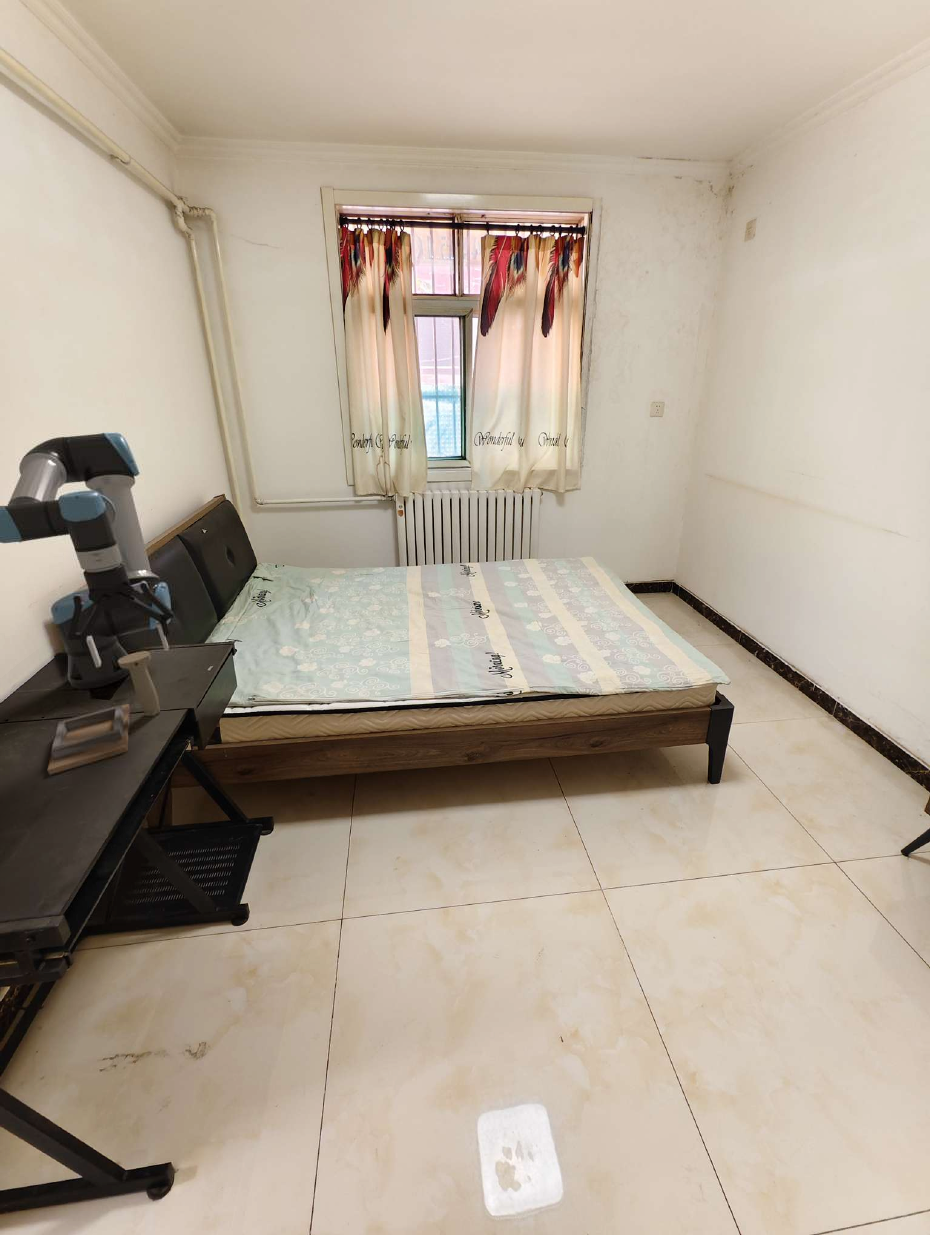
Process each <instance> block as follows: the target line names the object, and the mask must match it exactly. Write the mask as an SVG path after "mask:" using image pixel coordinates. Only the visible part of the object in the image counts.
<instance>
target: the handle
mask: <svg viewBox="0 0 930 1235" xmlns="http://www.w3.org/2000/svg"><path fill="white" fill-rule="evenodd" d="M151 659H152V656H151V653H150V652H149V650H147V651H146V650H142V651H137V652H133V653H130V654H128V655H127V656H124V657H122V658H120V659H119V660H118V663H119V666H120V667H121V668H124V669H129V671H130V676H131V680H132V684H133V687H134V688H133V689H134V691H135V694H136V698H137V701H138V703H139V705H140V707H141V709H142V711H143V712H144V714H145V716H146V717H154V716H156V715H157V714H159V713H160V712H161V709H160V703H159V697H158V693H157V690H156V688H155V687H156V686H154V683H153V680H152V678H151V676H150V672H149V671H148V668H147V664H148V663H149V662H150V661H151Z"/></svg>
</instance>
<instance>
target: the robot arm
mask: <svg viewBox="0 0 930 1235" xmlns="http://www.w3.org/2000/svg"><path fill="white" fill-rule="evenodd" d="M18 470H19V473H20V476H19V479H18V481H17V483H16V485H15V488H14V490H13V492H12V494H11V497H10V499H9V501H8V504H7V505H0V544H9V543H11V544H12V543H22V542H28V541H36V540H39V539H40V540H42V539H46V538H47V539H48V538H49V539H50V538H54V537H61V536H62V537H63V536H68V535H69V536H70V539H71V543H72V545H73V549H74V551H75V554H76V557H77V560H78V564H79V566H80V568H81V569H82V570H84V571H83V577H84V580H85V583H86V585H87V588H86V589H82V590H78V591H75V592H72V593H70V594H67V595H65V596H63V597H61V598H59V599H58V600H56V601H55V602H54V603H53V604H52V605H51V607H50V612H51V616H52V619H53V624H54V625H55V627H56V630H57V632H58V634H59V637H60V639H61V641H62V644H63V647H64V649H65V651H66V652H65V653H66V654H67V659H68V661H67V663H68V664H67V678H68V681H69V683H70V686H71V687H72V688H74V689H78V690H88V689H95V688H101V687H105V686H108V685H110V684H113V683H116V682H118V681H120V680H122V679H123V678H125V677H128V676H129V675H131V673H130V671H129V669H124V668H121V667H120V666H119V663H118V660H119V659H120V658H122V657H124V656H127V655H129V653H127V651H126V650H125V649H124V648H123V647H122V645H121V644H120V643H119V640H118V636H123V635H127V634H132V633H137V632H142V631H148V630H155V629H156V628H157V630H158V633H159V637H160V639H161V644H162V646H163V649H164V652H167V651H168V652H169V644H168V641H167V638H166V636H169V635H170V629H169V626H168V624H169V623H170V622H171V620H172V619H173V618H174V612H173V610H172V605H171V596H170V595H171V594H170V592H169V591H170V590H169V586H168V584H167V582H163V581H161V580H160V579H161V578H160V576H158V575H156V574H155V573H153V572H152V569H151V565H150V561H149V558H148V553H147V549H146V545H145V541H144V538H143V532H142V528H141V524H140V520H139V517H138V514H137V509H136V505H135V501H134V496H133V492H132V487H133V486H135V484H136V478H135V477H137V476H140V470H139V467H138V464H137V461H136V460H135V456H134V455H133V453H132V450H131V448H130V446H129V443H128V441H127V440H126V438H125V436H124V435H123V434H121V433H118V432H110V433H109V432H102V433H96V434H95V433H93V434H84V435H74V436H73V435H72V436H60V437H55V438H51V439H48V440H45V441H42V442H41V443H39V444H38V445H36V446H34V447H33V448H31V449H29V451H28V452H27V453H26V454H25V455H24V456H23V457H22V459H21V461H20V463H19V468H18ZM81 482H82V483H83V482H84V484H85V487H86V488H87V489H89V490H83V491H82V490H81V491H74V492H68V493H66V494H62V495H60V496H59V497H58V499H57V498H56V497H57V493H58V491H59V489H60V488H61V487H63V485H65V484H72V483H73V484H74V483H81Z"/></svg>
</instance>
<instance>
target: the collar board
mask: <svg viewBox="0 0 930 1235" xmlns="http://www.w3.org/2000/svg"><path fill="white" fill-rule="evenodd" d="M130 714H131V707H130V704H129V703H127V704H121V705H116V706H113V707H108V708H105V709H102V710H98V711H94V712H91V713H87V714H83V715H79V716H75V717H71V718H68V719H64V720H60V721H58V725H57V728H56V731H55V735H54V739H53V743H52V747H51V750H50V752H51V755H50V759H49V763H48V767H47V772H48V774H49V776H51V775H53V774H56V773H61V772H64V771H67V770H69V769H73V768H78V767H80V766H83V765H86V764H92V763H95V762H97V761H100V760H103V759H108V758H111V757H113V756H116V755H119V754H123V753H127V752H128V750H129V735H128V732H129V733H130V718H129V715H130Z"/></svg>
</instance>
